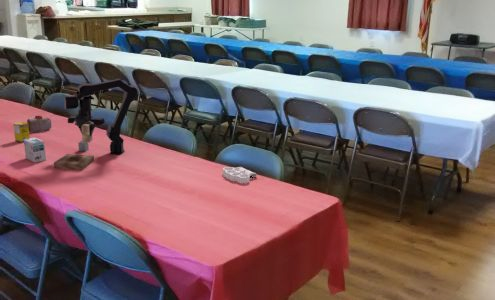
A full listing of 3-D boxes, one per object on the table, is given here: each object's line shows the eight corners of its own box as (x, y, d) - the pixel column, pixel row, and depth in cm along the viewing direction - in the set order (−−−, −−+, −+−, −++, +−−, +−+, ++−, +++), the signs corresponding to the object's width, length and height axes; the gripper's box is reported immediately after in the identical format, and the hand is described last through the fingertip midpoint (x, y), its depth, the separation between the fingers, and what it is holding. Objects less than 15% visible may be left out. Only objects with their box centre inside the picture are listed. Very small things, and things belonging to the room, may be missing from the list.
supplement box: (30, 140, 316) (28, 123, 313) (21, 143, 312) (19, 125, 308) (24, 139, 319) (22, 121, 316) (15, 141, 315) (13, 123, 311)
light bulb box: (46, 160, 283) (44, 140, 280) (34, 162, 278) (32, 143, 275) (37, 155, 290) (35, 136, 287) (25, 158, 285) (23, 139, 282)
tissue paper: (261, 180, 262) (237, 186, 253) (238, 170, 275) (215, 175, 267) (261, 173, 261) (237, 179, 252) (239, 164, 274) (215, 169, 266)
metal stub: (88, 149, 302) (88, 141, 301) (85, 151, 298) (85, 143, 297) (82, 149, 303) (81, 140, 301) (78, 151, 299) (78, 142, 297)
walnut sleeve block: (94, 160, 283) (93, 155, 282) (82, 170, 269) (81, 164, 268) (67, 159, 285) (67, 153, 284) (54, 168, 271) (53, 162, 270)
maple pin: (92, 140, 290) (91, 124, 287) (89, 142, 286) (88, 126, 284) (85, 139, 291) (84, 124, 288) (82, 142, 287) (81, 125, 284)
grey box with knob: (47, 127, 346) (46, 113, 343) (52, 130, 340) (51, 115, 337) (26, 131, 337) (25, 115, 334) (31, 133, 331) (29, 118, 328)
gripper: (61, 110, 277) (63, 138, 281) (95, 112, 274) (97, 140, 279) (71, 105, 287) (73, 133, 292) (104, 107, 285) (105, 135, 289)
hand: (87, 135), depth 288 cm, fingers closed on maple pin, 4 cm apart
